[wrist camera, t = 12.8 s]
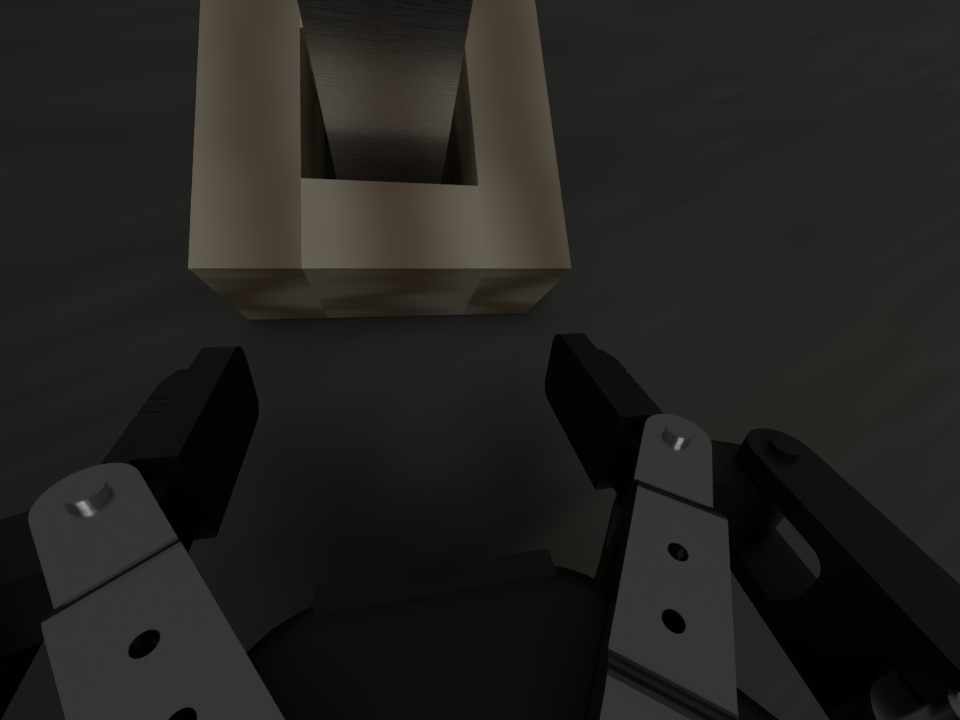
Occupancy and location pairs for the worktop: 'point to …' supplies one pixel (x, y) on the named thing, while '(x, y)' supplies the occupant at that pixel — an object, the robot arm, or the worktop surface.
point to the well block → (370, 204)
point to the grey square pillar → (387, 83)
